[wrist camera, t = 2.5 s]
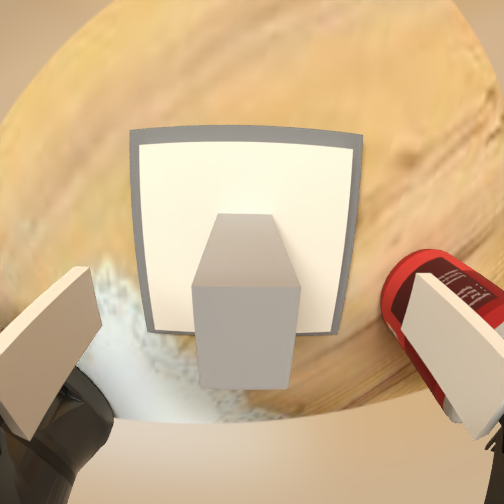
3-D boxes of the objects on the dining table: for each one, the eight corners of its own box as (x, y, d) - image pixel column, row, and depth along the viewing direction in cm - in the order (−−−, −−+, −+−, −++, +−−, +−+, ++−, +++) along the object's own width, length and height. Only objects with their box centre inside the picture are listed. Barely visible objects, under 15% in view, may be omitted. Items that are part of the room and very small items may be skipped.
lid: (158, 321, 20) (114, 433, 10) (144, 144, 16) (40, 150, 6) (326, 323, 20) (372, 434, 11) (347, 149, 16) (453, 159, 7)
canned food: (438, 328, 22) (504, 408, 12) (365, 331, 22) (423, 438, 11) (465, 249, 20) (557, 312, 9) (390, 240, 19) (492, 322, 9)
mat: (150, 326, 21) (147, 332, 20) (134, 130, 16) (129, 130, 15) (334, 328, 21) (337, 334, 21) (358, 135, 17) (362, 135, 16)
